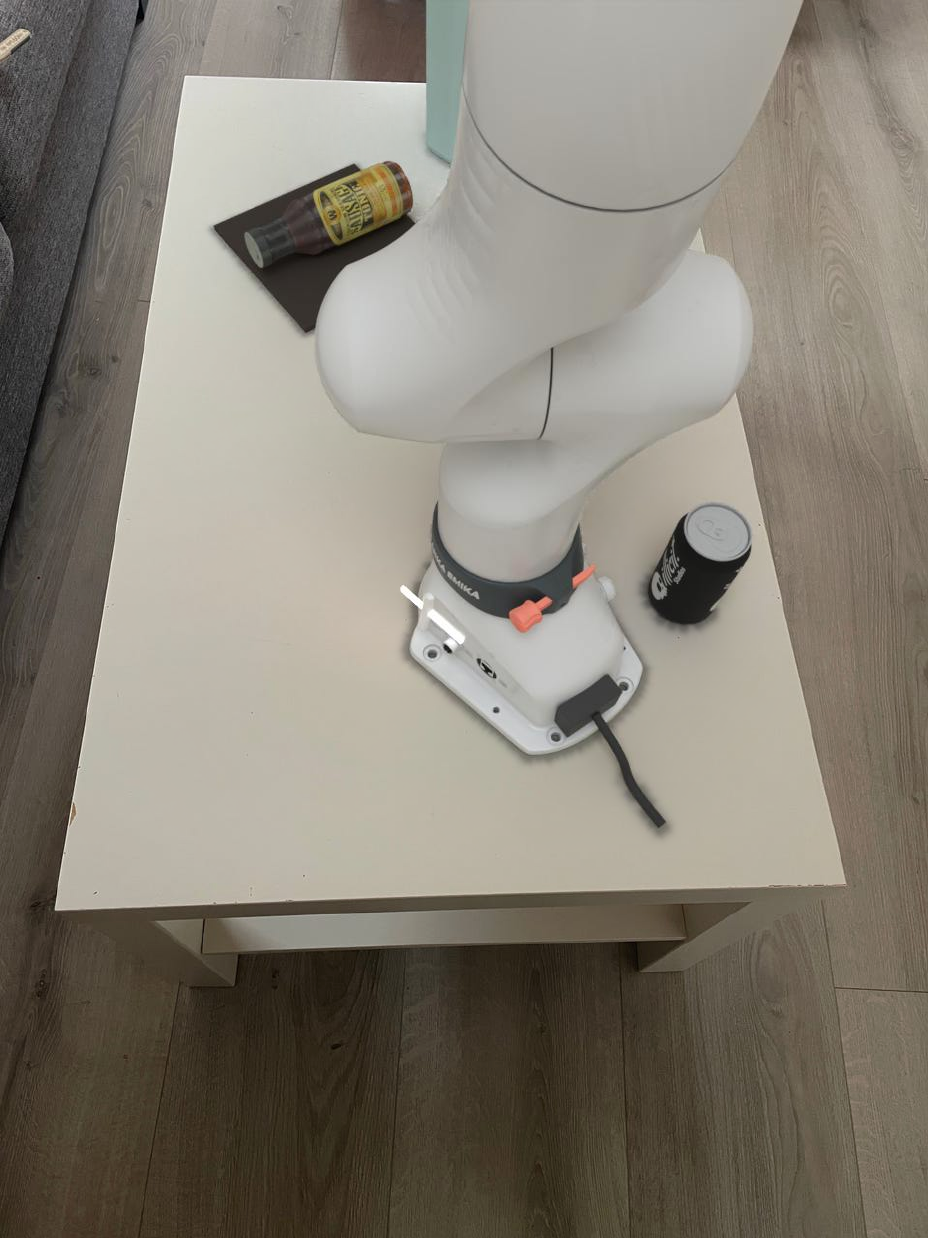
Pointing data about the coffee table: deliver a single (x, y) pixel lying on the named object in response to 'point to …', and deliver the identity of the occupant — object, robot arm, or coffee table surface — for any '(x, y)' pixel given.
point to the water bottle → (444, 72)
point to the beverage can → (700, 562)
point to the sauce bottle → (334, 214)
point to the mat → (305, 275)
